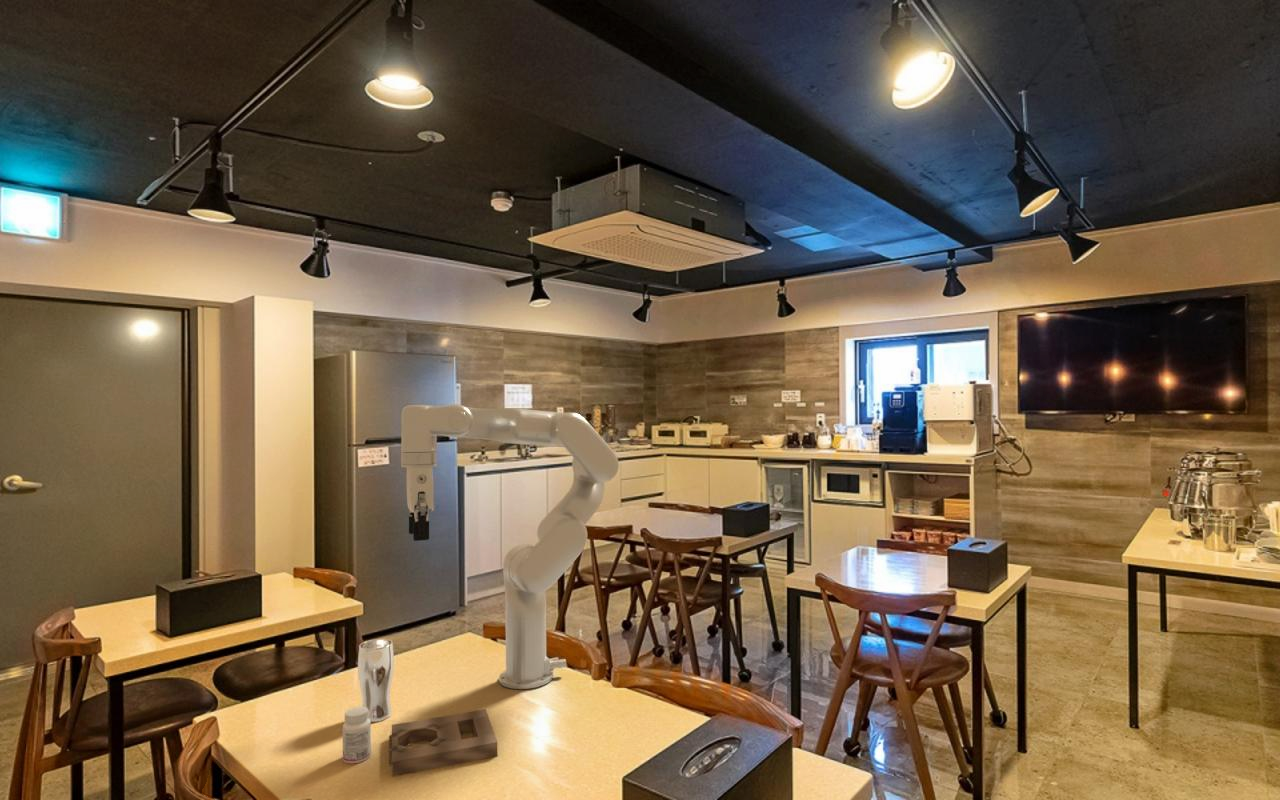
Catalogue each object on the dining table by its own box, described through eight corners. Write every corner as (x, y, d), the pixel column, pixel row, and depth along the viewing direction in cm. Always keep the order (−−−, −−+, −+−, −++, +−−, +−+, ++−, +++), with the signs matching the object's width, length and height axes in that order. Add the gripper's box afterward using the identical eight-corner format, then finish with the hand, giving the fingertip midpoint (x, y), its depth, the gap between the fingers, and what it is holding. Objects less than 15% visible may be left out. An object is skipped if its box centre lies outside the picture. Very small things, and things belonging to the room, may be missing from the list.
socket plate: (485, 721, 133) (485, 708, 133) (497, 755, 119) (497, 741, 119) (389, 738, 126) (389, 725, 127) (389, 777, 112) (389, 762, 113)
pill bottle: (348, 751, 122) (348, 705, 122) (374, 750, 122) (374, 704, 122) (338, 765, 117) (338, 717, 117) (365, 763, 117) (365, 716, 117)
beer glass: (400, 711, 138) (400, 639, 139) (377, 725, 132) (377, 650, 132) (374, 707, 141) (374, 636, 141) (350, 721, 134) (350, 647, 135)
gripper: (441, 461, 140) (441, 541, 139) (431, 457, 156) (431, 529, 155) (405, 462, 137) (404, 544, 136) (398, 458, 153) (397, 532, 152)
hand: (418, 536), depth 146 cm, fingers open, 9 cm apart
